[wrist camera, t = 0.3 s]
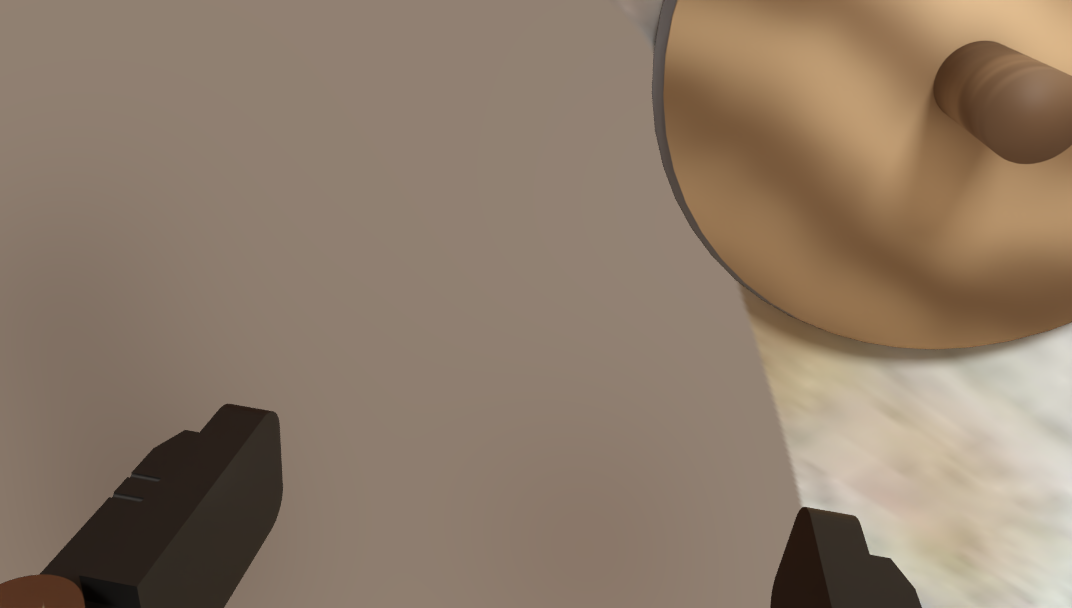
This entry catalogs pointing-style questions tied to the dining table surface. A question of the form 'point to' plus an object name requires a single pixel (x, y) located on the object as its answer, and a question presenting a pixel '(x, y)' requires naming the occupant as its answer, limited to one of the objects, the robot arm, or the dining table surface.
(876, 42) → the lid
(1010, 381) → the dining table surface
